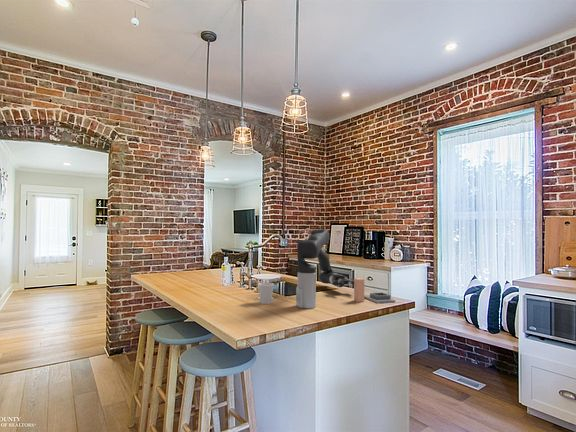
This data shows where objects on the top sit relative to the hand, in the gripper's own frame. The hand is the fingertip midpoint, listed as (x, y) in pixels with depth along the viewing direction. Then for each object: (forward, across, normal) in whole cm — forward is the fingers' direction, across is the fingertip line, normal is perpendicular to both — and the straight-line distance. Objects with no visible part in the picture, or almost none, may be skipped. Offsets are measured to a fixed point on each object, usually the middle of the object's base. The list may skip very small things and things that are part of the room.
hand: (349, 284), depth 192 cm
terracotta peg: (+11, 0, +7) cm, 13 cm away
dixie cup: (+3, -50, +7) cm, 51 cm away
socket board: (+11, +12, +7) cm, 18 cm away
